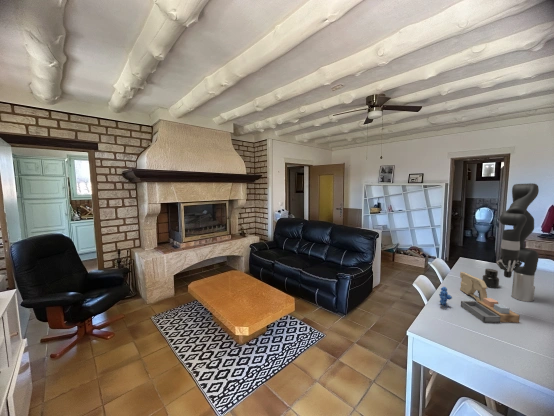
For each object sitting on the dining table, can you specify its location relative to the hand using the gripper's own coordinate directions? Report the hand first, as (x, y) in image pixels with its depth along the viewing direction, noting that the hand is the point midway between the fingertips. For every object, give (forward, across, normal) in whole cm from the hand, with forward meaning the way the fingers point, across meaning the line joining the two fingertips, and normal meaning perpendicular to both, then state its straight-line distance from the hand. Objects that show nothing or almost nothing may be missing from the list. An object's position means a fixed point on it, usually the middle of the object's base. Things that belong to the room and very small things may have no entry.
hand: (507, 277), depth 133 cm
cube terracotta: (+17, +8, 0) cm, 19 cm away
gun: (+21, +5, -18) cm, 28 cm away
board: (+21, +7, +4) cm, 22 cm away
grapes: (+21, +30, -6) cm, 37 cm away
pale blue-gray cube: (+17, +8, +7) cm, 20 cm away
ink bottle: (+21, -22, -36) cm, 48 cm away
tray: (+21, +17, +4) cm, 27 cm away
